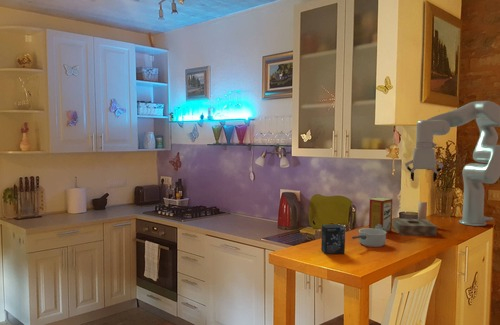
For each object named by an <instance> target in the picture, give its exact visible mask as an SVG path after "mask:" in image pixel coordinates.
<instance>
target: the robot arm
mask: <svg viewBox="0 0 500 325" xmlns="http://www.w3.org/2000/svg"><path fill="white" fill-rule="evenodd" d="M473 120H474V121H476V124H477V127H478V130H479V138H478V140H477V143H476V145H475V148H474V149H473V153H472V159H473V160H474V161H475V162H474V163H473V162H470V163H467V164H465V165H464V166H463V169H462V180H463V200H462V201H463V202H462V218H461V219H459V220H458V223H459V224H461V225H465V226H470V227H472V226H473V227H484V226H487V222H488V221H489V222H493V221H494V218H493V216H492V217H488V216H486V215H484V212H485V211H484V209H485V208H484V207H485V188H484V185H483V184H495V183H496V182H497V181H499V179H500V144H498V141H499V136H498V135H499V134H498V132H497V130H496V129H495V128H500V104H497V103H496V102H493V101H491V100H478V101H477V100H475V101H471V102H468V103H467V104H464V105H462V106H461V107H458V108H456V109H453V110H450V111H447V112H444V113H440V114H437V115H435V116H432V117H430V118H428V119H426V120H425V119H424V120H418V121H417V123H416V145H415V147H416V148H414V150H413V155H412V160H410V161H407V162H405V163H404V165H405V167H406V169H407V171H408V172H410V179H411V182H412V181H415V170H432V171H433V176H432V181H433V182H435V183H436V181H437V180H438V173H439V172H440V171H441V170H442V169H443V168H444V164H443V163H441V162H439V161H438V160H437V159H436V150H435V148H434V147H437V143H435V142H434V136H445V135H447V134H448V133H449V132H450V131H451V128H456V127H460V126H463V125H464V126H465V125H466V124H467V123H469V122H471V121H473ZM411 164H412V168H411V167H410V165H411ZM437 165H438V168H436V166H437Z"/></svg>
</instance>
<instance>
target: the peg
mask: <svg viewBox="0 0 500 325" xmlns="http://www.w3.org/2000/svg"><path fill="white" fill-rule="evenodd" d="M427 211H428V203H427V201H418V205H417V219H426V220H427Z"/></svg>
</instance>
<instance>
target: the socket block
mask: <svg viewBox="0 0 500 325" xmlns="http://www.w3.org/2000/svg"><path fill="white" fill-rule="evenodd" d="M392 228H393V230H395V231H396V232H397V234H399V235H400V236H416V235H417V236H418V237H419V236H420V237H424V236H425V237H438V226H437V225H435V224H434V223H432V222H431V221H429V219H427V218H426V219H418V218H396V217H395V218H393V217H392Z"/></svg>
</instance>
